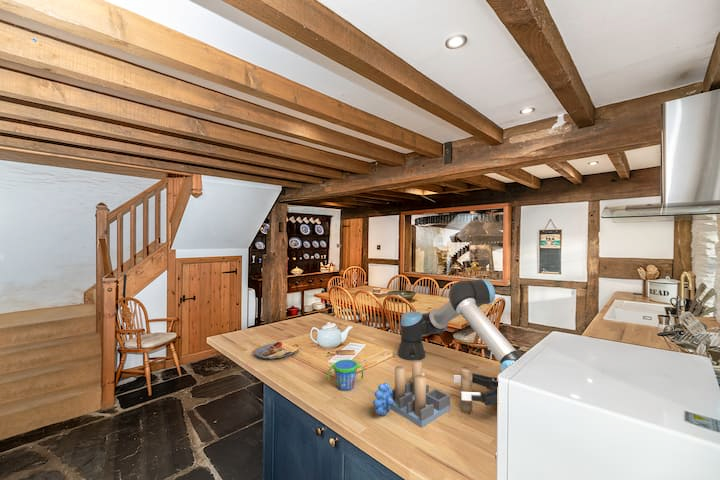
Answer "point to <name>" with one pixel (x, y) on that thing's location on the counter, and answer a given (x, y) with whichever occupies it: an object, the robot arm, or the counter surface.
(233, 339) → the counter surface
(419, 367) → the stool
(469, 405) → the loose leg
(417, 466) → the counter surface
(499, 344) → the robot arm
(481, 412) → the counter surface
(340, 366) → the snack cup
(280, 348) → the food plate
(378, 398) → the grapes
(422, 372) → the tiered building model
